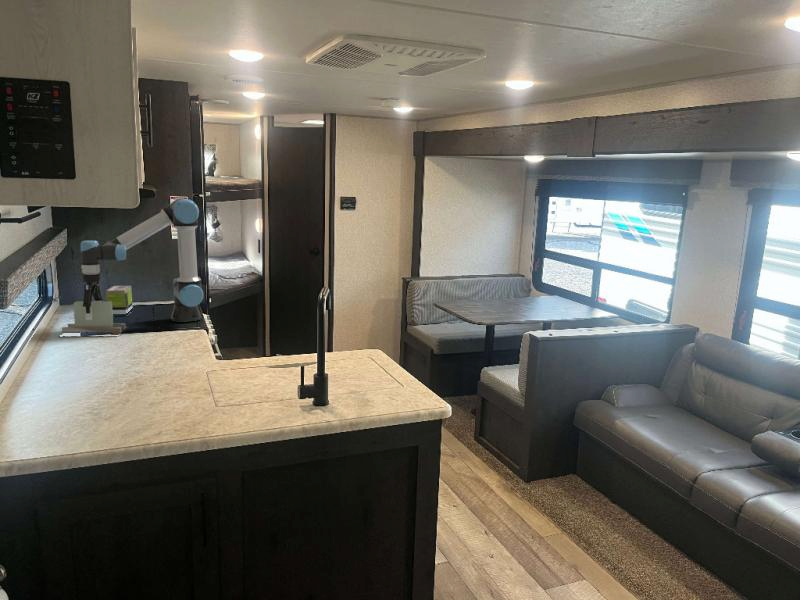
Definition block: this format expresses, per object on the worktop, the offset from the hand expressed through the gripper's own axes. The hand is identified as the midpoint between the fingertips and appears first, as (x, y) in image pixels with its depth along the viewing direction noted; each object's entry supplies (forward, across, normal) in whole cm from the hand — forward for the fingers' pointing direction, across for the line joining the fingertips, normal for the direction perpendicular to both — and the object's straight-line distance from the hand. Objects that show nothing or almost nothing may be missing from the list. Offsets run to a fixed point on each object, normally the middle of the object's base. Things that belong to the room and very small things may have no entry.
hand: (93, 317), depth 293 cm
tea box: (+8, -45, 0) cm, 46 cm away
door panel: (+7, 0, 0) cm, 7 cm away
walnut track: (+8, 0, 0) cm, 8 cm away
